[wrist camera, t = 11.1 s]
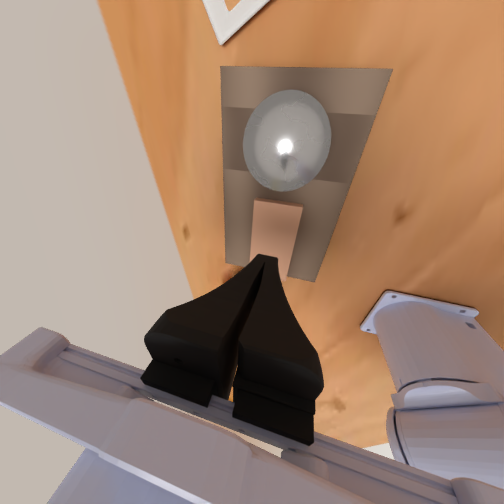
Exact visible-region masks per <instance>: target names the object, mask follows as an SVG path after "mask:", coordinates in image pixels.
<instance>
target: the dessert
mask: <svg viewBox="0 0 504 504" xmlns="http://www.w3.org/2000/svg"><path fill="white" fill-rule="evenodd" d="M202 1H203V4H204V6H205V9H206V11H207V14H208V17H209V19H210V22H211V24H212V27H213V29H214V32H215V35H216V37H217V40H218V42H219V44H220V45H223V44H224V43H225V42H226V41H227V40H228V39H229V38H230V37H231V36H232V35H233V34H234V33H235V32H236V31H238V30H239V29H240V28H241V27H242V26H243V25H244V24H245V23H246V22H247V21H248V20H249V19H250V18H251V17H252V16H254V15H255V14H256V13H257V12H258V11H259V10H260V9H261V8H262V7H263V6H264V5H265V4H266V3H267V2H269V1H270V0H241V1H240V2H239V3H238V4H237V5H236V6H235V7H234V8H233V9H232V10H231V11H228V10H227V7H226V5H225V2H224V0H202Z"/></svg>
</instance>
